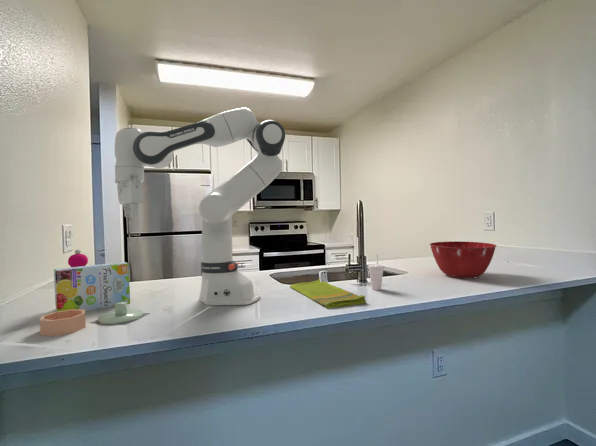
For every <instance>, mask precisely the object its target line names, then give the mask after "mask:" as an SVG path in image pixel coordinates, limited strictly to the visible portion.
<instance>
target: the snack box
mask: <svg viewBox="0 0 596 446" xmlns="http://www.w3.org/2000/svg"><path fill="white" fill-rule="evenodd" d="M129 266H130V265H129V262H126V261H123V262H121V261H119V262H112V263H102V264H89V265H86V266H81V267H71V266H70V267H63V268H62V267H61V268H54V269H53V278H54V279H53V280H54V300H55V312H58V311H65V310H72V309H77V310H85V312H86V311H93V310H98V309H105V308H111V307H115V303H118V302H127V305H129V304H131V291H130V290H131V287H130V267H129Z"/></svg>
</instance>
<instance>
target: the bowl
mask: <svg viewBox="0 0 596 446" xmlns="http://www.w3.org/2000/svg"><path fill="white" fill-rule="evenodd" d="M86 327H87V325H86V311H85V310H77V309H72V310H65V311H58V312H56V311H53V312H50V313H48V314H44V315H41V316H40V319H39V330H40V331H39V334H40V336H44V337H45V336H47V337H50V336H51V337H56V336H62V335H66V334H72V333H75V332H77V331H81V330H83V329H85V328H86Z"/></svg>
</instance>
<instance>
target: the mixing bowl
mask: <svg viewBox="0 0 596 446" xmlns="http://www.w3.org/2000/svg"><path fill="white" fill-rule="evenodd" d="M429 246H430V248H431V253H432V254H433V255H432V256H433V258H434V260H435V263H436V264H437V266H438V268H439V270H440V271H441V272H442V274H445V275H446V276H448V277H450V278H454V277H455V278H456V279H465V278H471V279H476V278H475V277H477V278H479V277H481V275H484V273H485V272H486V271H487V269H488V267H489V266H490V264H491V261H492V259H493V257H494V255H495V252H496V251H495V250H496V247H497V245H496V244H494V243H489V242H480V241H479V242H477V241H459V240H458V241H456V240H455V241H453V240H452V241H450V240H449V241H436V242H431V243H429Z"/></svg>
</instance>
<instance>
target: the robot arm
mask: <svg viewBox="0 0 596 446" xmlns="http://www.w3.org/2000/svg"><path fill="white" fill-rule="evenodd" d="M241 140H246V141H247V142H248V143H249V144H250V146H251V147H252V149H254V150H255V152H257V153H256V155H255V157H254V158H253V159H252V160H250V161H249V162H248V163H247V164H245V165H244V166H243V167H241V168H240V169H239V170H238V171H237V172H236V173H234V174H233V175H232V176H230V177H229V178H227V180H225V181H224V182H222V183H221V184H220V185H218V186H217V187H215V188H214V189H213V190H212V191H210V192H209V193H208V194H206V195H205V196H203V197H202V199H201V200H200V202H199V205H198V211H199V215H200V217H201V223H202V224H201V225H202V226H201V262H200V274H201V275H200V276H201V283H200V284H201V285H200V292H199V297H198V302H202V303H203V305H208V306H209V305H211V306H247V305H251V304H254V303H255V302H257V301H258V300H260V298H261V294H260V293H257V292H255V288H254V283H253V282H252V280H251V279H250V278H249V277H247V276H246V275H244V274H243V273H241V271H239V270H238V267H239V264H240V262H236V261H234V258H233V257H234V256H233V222H232V221H233V220H232V219H233V215H234V214H236V213H237V212H238V211H239V210H240V209H242V207H244V206H246V204H248V203H249V202H250V201H251V200H253V198H254V197H256V196H257V195H258V194H260V193H261V192H262V191H263V190H264V189H265V188H267V187H268V186H269V185H270V184H271V183H272V182H273V181H274V180H275V179H276V178H277V177H278V175H279V174H280V173H281V172H282V170H283V163H282V160H281V158H280V157H279V155H280V154H281V151H282V147H283V146H284V143H285V140H286V131H285V128H284V127H283V125H282V124H281V123H280V122H278V121H277V120H273V119H267V120H264V121H262V122H260V121H258V120H257V118H256V115H255V114H254V111H252V110H251V109H250V108H247V107H241V108H239V107H238V108H235V109H230V110H226V111H223V112H221V113H220V112H219V113H217V114H215V115H212V116H210V117H208V118H205V119H202V120H200V121H197V122H195V123H191V124H188V125H184V126H181V127H178V128H174V129H171V130H167V131H162V132H160V131H159V132H157V131H144V132H143V131H142V130H141V129H139V128H135V127H126V128H122V129H120V130H118V131H117V132H116V134H115V138H114V156H115V159H116V160H115V164H114V176H115V177H114V179H115V180H114V183H115V184H116V186H117V187H116V188H117V189H116V190H117V198H118V203H119V204H120V205H123V206H122V207H123V211H124V217H125V218H137V217H138V210H139V204H142V203H143V201H144V191H143V183H145V166H146V167H151V168H155V169H164V168H166V167H167V166H170V164H171V163H172V161H173V156H174V155H173V152H175V151H177V150H178V151H179V150H182V149H184V148H188V147H190V146H193V145H199V144H200V145H201V144H202V145H208V146H211V147H213V148H219V147H224V146H227V145H231V144H233V143H237V142H239V141H241Z"/></svg>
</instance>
